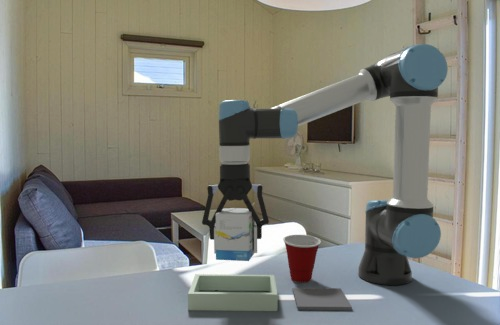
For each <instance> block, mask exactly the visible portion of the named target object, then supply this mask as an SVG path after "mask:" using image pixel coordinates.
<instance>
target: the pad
mask: <svg viewBox="0 0 500 325" xmlns="http://www.w3.org/2000/svg"><path fill="white" fill-rule="evenodd" d="M291 290H292V291H291V292H292V295H293V298H294V302H295V304H296V305H295V306H296V309H297V311H301V310H302V311H353V306H352V304H351V303H350V301H349V300H348V298H347V297H346V295H345V293H344V291H343V290H342V288H340V287H339V288H337V287H336V288H334V287H333V288H331V287H330V288H329V287H327V288H325V287H324V288H323V287H292V289H291Z"/></svg>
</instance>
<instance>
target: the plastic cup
mask: <svg viewBox="0 0 500 325" xmlns="http://www.w3.org/2000/svg"><path fill="white" fill-rule="evenodd" d="M283 242H284V246H285V250H286V255H287V256H286V257H287V262H288V268H289V274H290V275H289V276H290V278H291V280H292V281H293V282H296V283H308V282H311V280H312V279H313V278H312V277H313V272H314V269H315V263H316V258H317V252H318V249H319V246H320V245H321V243H322V241H321V238H319V237H315V236H313V235H307V234H289V235H287V236H285V237H283Z"/></svg>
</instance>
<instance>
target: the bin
mask: <svg viewBox="0 0 500 325" xmlns="http://www.w3.org/2000/svg"><path fill="white" fill-rule="evenodd" d="M277 289H278V288H277V283H276V278H275V274H222V273H221V274H216V273H215V274H214V273H213V274H211V273H210V274H208V273H206V274H204V273H203V274H202V273H201V274H200V273H198V274H197V273H195V275H194V278H193V280H192V282H191V285H190V287H189V290H188V293H187V311H220V312H221V311H223V312H224V311H227V312H228V311H229V312H231V311H232V312H233V311H235V312H236V311H237V312H238V311H239V312H243V311H244V312H245V311H246V312H278V300H279V298H278V297H279V296H278V290H277ZM215 290H218V291H215Z"/></svg>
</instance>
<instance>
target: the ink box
mask: <svg viewBox="0 0 500 325" xmlns="http://www.w3.org/2000/svg"><path fill="white" fill-rule="evenodd" d="M215 225H216V254H215V260H216V261H218V260H219V261H233V262H234V261H237V262H249V261H250V260H251V259H252V257H254V255H255V253H254V225H256V223H255V221H254V219H253V217H252V214H251V212H249V210H248V208H247V207H246V208H242V207H230V208H225V207H223V209H222V211H221V212H218V213H216V223H215Z"/></svg>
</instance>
